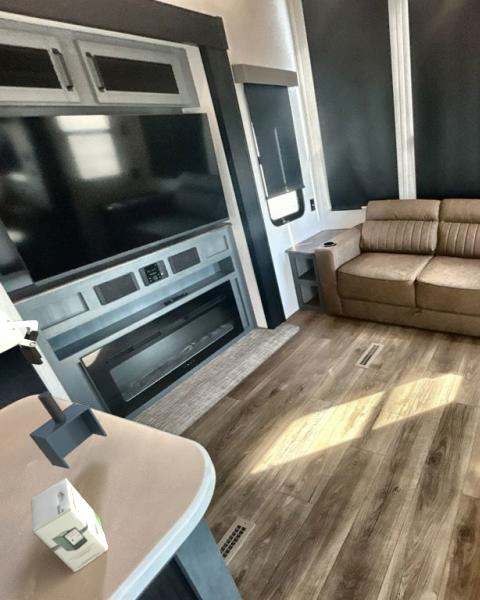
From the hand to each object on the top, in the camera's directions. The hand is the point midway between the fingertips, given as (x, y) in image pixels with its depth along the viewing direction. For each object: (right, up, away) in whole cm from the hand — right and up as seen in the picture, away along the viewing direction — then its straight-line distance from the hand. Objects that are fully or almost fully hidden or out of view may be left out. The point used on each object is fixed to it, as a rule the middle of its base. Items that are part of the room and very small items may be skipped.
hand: (9, 378), depth 71 cm
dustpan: (+5, -10, +5) cm, 12 cm away
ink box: (+23, -27, -9) cm, 36 cm away
